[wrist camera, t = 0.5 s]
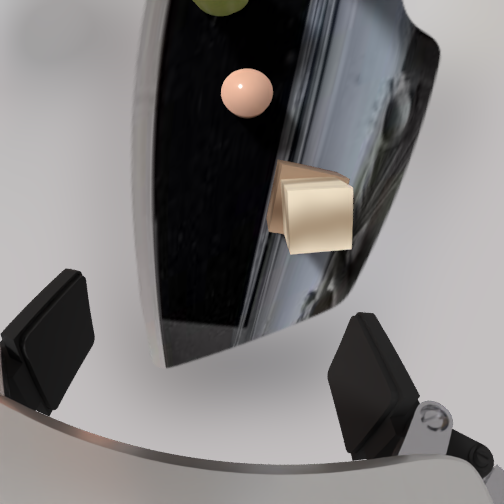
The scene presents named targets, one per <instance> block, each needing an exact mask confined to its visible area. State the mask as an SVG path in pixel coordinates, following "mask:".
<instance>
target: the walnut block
mask: <svg viewBox="0 0 504 504" xmlns="http://www.w3.org/2000/svg"><path fill="white" fill-rule="evenodd" d="M317 177H336V178H338V179H340V180H341V181H343V182H345V183H346V184H349V180H350V179H348V178H347V177H345V176H343V175H341V174H339V173H337V172H333V171H329V170H325V169H321V168H316V167H312V166H307V165H302V164H297V163H293V162H288V161H282V160H278V162H277V167H276V172H275V177H274V182H273V187H272V193H271V198H270V203H269V208H268V213H267V224H268V229H269V232H274V233H280V234H284V230H283V212H282V195H281V180H282V179H298V178H317Z"/></svg>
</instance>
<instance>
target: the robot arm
mask: <svg viewBox="0 0 504 504" xmlns="http://www.w3.org/2000/svg"><path fill="white" fill-rule="evenodd" d="M1 337H2V341H1V342H0V504H504V470H503V469H501V468H500V467H499V466H498V465H496V466H494V460H493V455H492V454H491V452H490V450H489V449H488V448H487V447H486V446H484V445H483V444H481V443H479V442H477V441H475V440H473V439H471V438H469V437H467V436H465V435H463V434H461V433H459V432H457V431H455V430H454V429H452V427H453V419H452V416H451V414H450V412H449V411H448V410H447V409H446V408H445V407H444V406H443V405H441V404H440V403H437V402H434V401H425V402H422V403H421V404H420V403H419V401H418V398H419V397H420V395H419V394H418V392H417V389H416V387H415V386H414V384H413V382H412V380H411V378H410V376H409V374H408V372H407V371H406V369H405V367H404V365H403V363H402V361H401V360H400V358H399V356H398V354H397V352H396V351H395V349H394V347H393V345H392V343H391V342H390V340H389V338H388V336H387V335H386V333H385V331H384V330H383V328H382V326H381V324H380V323H379V321H378V319H377V318H376V316H375V315H374V314H373V313H363V312H358V313H357V314H356V315H355V316H352V317H351V319H350V321H349V324H348V326H347V329H346V331H345V334H344V336H343V338H342V341H341V343H340V345H339V348H338V350H337V352H336V354H335V357H334V359H333V361H332V363H331V366H330V368H329V371H328V381H329V385H330V389H331V393H332V396H333V400H334V404H335V408H336V411H337V415H338V419H339V423H340V427H341V431H342V435H343V438H344V443H345V447H346V450H347V452H348V453H351V456H352V460H353V461H351V462H339V463H327V464H308V465H266V464H265V465H264V464H245V463H233V462H222V461H213V460H205V459H198V458H191V457H185V456H179V455H174V454H169V453H163V452H158V451H154V450H150V449H145V448H141V447H137V446H133V445H129V444H125V443H122V442H118V441H115V440H112V439H108V438H105V437H102V436H99V435H95V434H93V433H90V432H87V431H84V430H81V429H78V428H76V427H73V426H70V425H68V424H65V423H63V422H60V421H58V420H55V419H53V418H51V417H48V416H50V414H51V412H52V410H56V409H57V408H58V406H59V404H60V402H61V400H62V398H63V396H64V394H65V393H66V391H67V389H68V387H69V386H70V384H71V382H72V380H73V378H74V376H75V375H76V373H77V371H78V369H79V368H80V366H81V364H82V363H83V361H84V359H85V357H86V356H87V354H88V352H89V351H90V349H91V347H92V346H93V343H94V337H95V336H94V330H93V325H92V319H91V313H90V307H89V300H88V292H87V284H86V278H85V277H84V276H82V273H81V272H80V271H77V270H72V269H65V270H63V271H62V272H61V273H60V274H59V275H58V276H57V277H56V278H55V279H54V280H53V281H52V282H51V283H49V284H48V285H47V286H46V287H45V288H44V289H43V290H42V291H41V292H40V293H39V294H38V295H37V296H36V297H35V298H34V299H33V300H32V301H31V302H30V303H29V304H28V305H27V306H26V307H25V308H24V309H23V310H22V312H20V314H19V315H17V317H16V318H15V319H14V320H13V321H12V322H11V323H10V324H9V325H8V326H7V327H6V329H5V330H4V331H3V332H2V333H1ZM36 410H37V411H38V412H37V411H36ZM39 412H41V413H43V414H41V413H39ZM44 414H45V415H44ZM46 415H47V416H46ZM361 459H367V460H361ZM354 460H361V461H354ZM493 466H494V467H493Z"/></svg>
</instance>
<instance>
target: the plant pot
mask: <svg viewBox="0 0 504 504" xmlns="http://www.w3.org/2000/svg"><path fill="white" fill-rule="evenodd" d="M193 1H194V2H195V3H196V4H197V6H198V7H199V8H200V9H201V10H203V11H204V12H206V13H208V14H210V15H214V16H227V15H230V14H232V13H235V12H237V11H239V10H241V9H242V8H244V7H245V5H246V4H247V3H248V0H193Z"/></svg>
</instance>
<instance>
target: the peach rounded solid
mask: <svg viewBox="0 0 504 504" xmlns="http://www.w3.org/2000/svg"><path fill="white" fill-rule="evenodd" d="M221 96H222V100H223V102H224V104H225V106H226V107H227V108H228V109H229V110H230V111H231V112H232V113H233V114H234V115H236V116H238V117H241V118H254V117H257V116H259V115H260V114H262V113H263V112H264V111H265V110H266V108H267V107H268V105H269V104H270V102H271V100H272V96H273V89H272V85H271V82H270V81H269V79H268V78H267V77H266V76H265V75H264V74H263V73H261V72H259V71H257V70H254V69H240V70H237V71H235V72H233V73H232V74H230V75H229V76H228V77H227V78H226V79H225V81H224V83H223V85H222V89H221Z"/></svg>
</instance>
